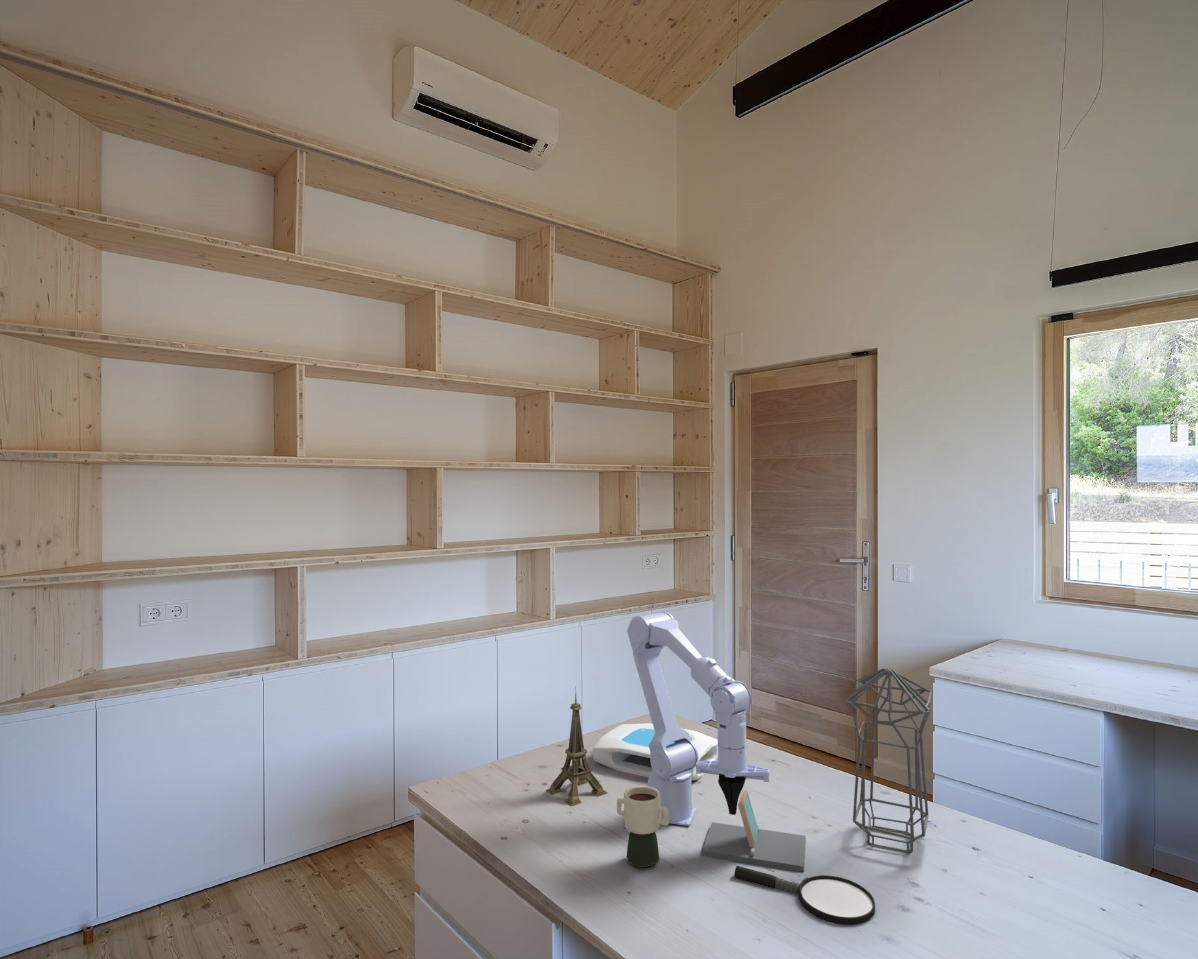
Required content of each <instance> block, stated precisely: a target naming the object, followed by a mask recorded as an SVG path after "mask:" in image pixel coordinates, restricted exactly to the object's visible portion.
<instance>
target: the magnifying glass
mask: <svg viewBox="0 0 1198 959" xmlns="http://www.w3.org/2000/svg"><path fill="white" fill-rule="evenodd" d="M734 878H735V879H737V880H741V881H745V882H748V883H751V884H755V885H758V886H762V887H767V888H770V889H773V890H774V889H776V890H780V891H785V892H789V893H790V894H795V895H798V901H799V904H800V905H801V907H802V908H803V909H804V910H805V911H806V912H807V913H809V914H810V915H812V916H813V917H814V918H817V919H819V920H821V921H824V922H827V923H831V924H834V925H840V926H857V925H861V924H862V925H863V924H865V923H867V922H869V921H870V920H871V919H873V918H874V917H875V914H876V902H875V898H874V897H873V895H872V894H871V893H870V891H868V890H867V889H866V888H865V887H864V886H862V885H861V884H859V883H856V882H854V881H852V880H850V879H848V878H844V877H840V876H835V875H826V874H825V875H824V874H821V875H815V876H810V877H806V878H804V879H803V880H801V882H800V883H799V882H795V881H790V880H785V878H781V877H777V876H776V875H772V874H769V873H765V872H763V871H760V870H755V869H751V868H747V867H745V866H740V865H736V866H735V869H734Z"/></svg>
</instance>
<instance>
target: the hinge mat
mask: <svg viewBox="0 0 1198 959" xmlns="http://www.w3.org/2000/svg"><path fill="white" fill-rule="evenodd" d="M757 826H758V833H757V838H756V843H755V846H752V847H750V846H749V842H748V839H747V835H746V832H745V828H744V826H740V825H733V824H727V823H719V822H711V824H710V828H709V830H708V833H707V836H706V839H705V842H704V843H703V847H702V850H701V852H702V854H701V855H702V857H707V858H714V859H715V858H716V859H720V860H721V859H722V860H726V861H727V860H728V861H733V862H734V861H735V862H739V863H746V864H750V865H751V864H752V865H758V866H759V865H760V866H764V867H770V868H771V867H772V868H777V869H784V870H789V871H796V872H802V873H804V872H805V871H804V870H805V858H806V855H805V854H806V842H807V841H806V839H807V838H806V835H803V834H796V833H791V832H783V831H777V830H775V831H774V830H768V829H762V828H760V825H758V824H757Z"/></svg>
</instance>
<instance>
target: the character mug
mask: <svg viewBox="0 0 1198 959" xmlns="http://www.w3.org/2000/svg"><path fill="white" fill-rule="evenodd" d="M622 805H623V806H622ZM622 808H623V809H622ZM616 812H617V814H618V815H619V816H623V822H624V825H625V829H626V830H627V831H628V832H629V833H628V839H627V848H626V859H627V861H628V863H630V865H632V866H635V867H639V868H644V867H646V868H647V867H650V866H653V865H655V864H656V863H657V862H659V860H660V851H659V844H658V836H657V833H656V832H657V830H659V829H660V826H661V825H662V826H669V824H670V823H669V811H668V809H667V808H665V807H661V796H660V793H659V791H658V790H657V789H655V788H652V787H648V785H639V786H638V785H637V786H633V787H629V788H628V789H626V790H625V791H624V793H623V797H618V798H616ZM661 812H663V813H664V820H663V819H661Z"/></svg>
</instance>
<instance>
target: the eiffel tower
mask: <svg viewBox="0 0 1198 959" xmlns="http://www.w3.org/2000/svg"><path fill="white" fill-rule="evenodd" d="M575 691H577V687H576V686H575ZM574 693H575V694H574V695H575V696H574V703H571V704H570V706H569V709H570V710H572V714H571V720H570V721H571V723H570V724H571V725H570V731H569V732H570V733H569V740H568V741H569V742H568V748H566V749H565V752H564V753H565V754H566V757H565V762H564V765H563V766H562V767H560V768H561V772H560V773H559V774H558V776H557V777H556V778H555V779H554V780H553V781H552V783H551V784H550V786H549V788H548V789H546V790H545V792H546V793H548V792H549V794H550V795H555V794H558V793H561V792H562V791H563V789H562V787H563V785H564V784H565V782H566V781H567V780H569V782H570V783H571V786H570V789H569V792H568V794H567V795H568V796H567V798H566V800H564V803H565V804H567V805H569V806H570V807H574V806H576V805H580V804H582V801H581V799H580V796H579V788H578V787H579V786H582V785H585V784H589V786H590V787H591V794H593V795H595V796H597V797H601V796H604V795H607V794H608V793H609V792H608V791H606V790H604V788H603V786H602V785H601V783H600V782H599V780H597V778H596V776H595V775H594V774H593V773H592V770H593V769H592V768H591V767H590V766H589V762H588V760H587V759H588V758H587V754H588V750H587V749H586V748H585V745H584V738H583V731H582V723H581V715H580V710H582V709H583V707H582V706H581V705H582V704H581V703H578V700H577V692H574Z"/></svg>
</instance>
